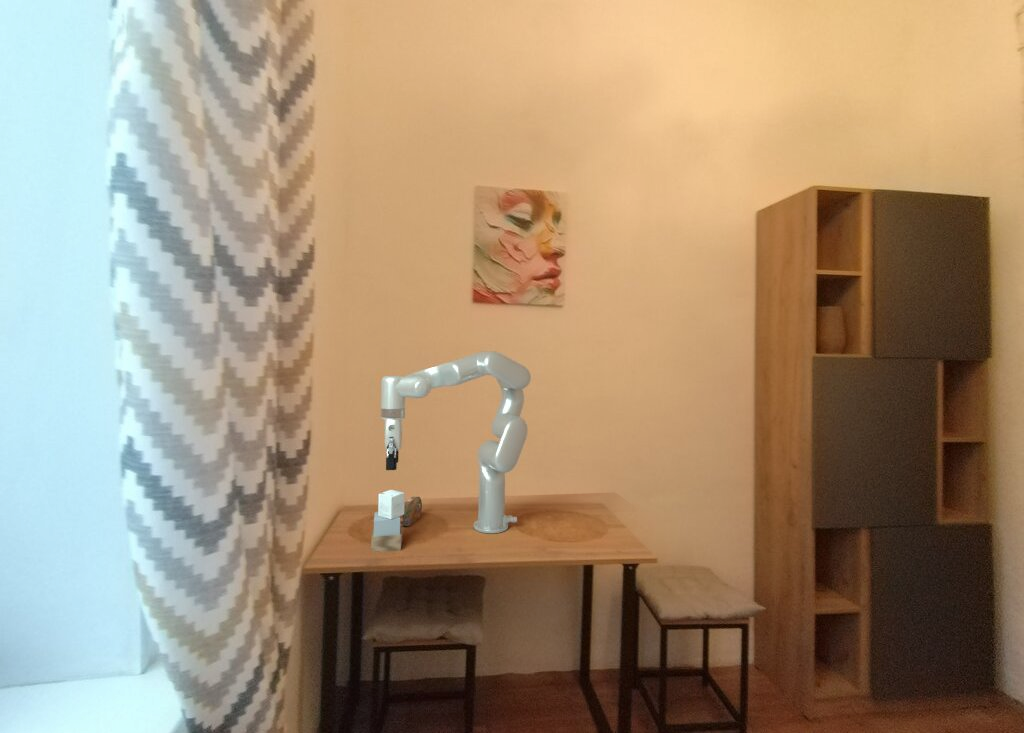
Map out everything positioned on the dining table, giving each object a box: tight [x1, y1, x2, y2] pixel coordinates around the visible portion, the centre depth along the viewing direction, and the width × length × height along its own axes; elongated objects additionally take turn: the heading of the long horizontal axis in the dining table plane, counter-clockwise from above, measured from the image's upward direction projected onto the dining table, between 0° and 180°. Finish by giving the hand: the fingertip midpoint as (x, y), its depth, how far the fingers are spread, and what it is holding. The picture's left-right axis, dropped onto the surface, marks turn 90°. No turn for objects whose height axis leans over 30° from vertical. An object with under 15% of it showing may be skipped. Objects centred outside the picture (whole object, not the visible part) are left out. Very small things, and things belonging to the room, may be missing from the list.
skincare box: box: [377, 489, 405, 519], centre depth 145 cm, size 6×6×7 cm
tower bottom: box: [370, 524, 404, 552], centre depth 145 cm, size 9×9×5 cm
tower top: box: [373, 511, 401, 537], centre depth 144 cm, size 8×8×5 cm
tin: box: [400, 496, 423, 527], centre depth 166 cm, size 15×3×8 cm, turn 168°
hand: (392, 466), depth 145 cm, fingers open, 9 cm apart
